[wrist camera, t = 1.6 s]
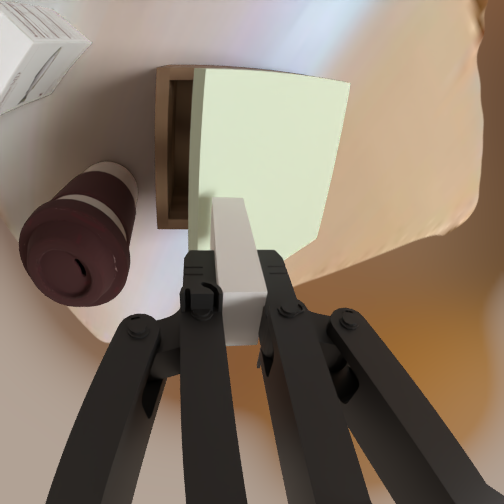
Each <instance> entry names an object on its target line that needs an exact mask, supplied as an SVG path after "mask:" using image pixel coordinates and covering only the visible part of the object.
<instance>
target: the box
mask: <svg viewBox="0 0 504 504" xmlns="http://www.w3.org/2000/svg"><path fill="white" fill-rule="evenodd" d="M194 68H227V69H248V70H262V71H274V70H265V69H256V68H245V67H232V66H214V65H166V66H162V67H158V68H157V72H156V94H155V186H156V210H157V227H158V229H188V194H189V152H190V128H191V109H192V93H193V79H194ZM274 72H281V71H274ZM284 73H289V72H284ZM292 74H295V73H292ZM300 75H302V74H300Z"/></svg>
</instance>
